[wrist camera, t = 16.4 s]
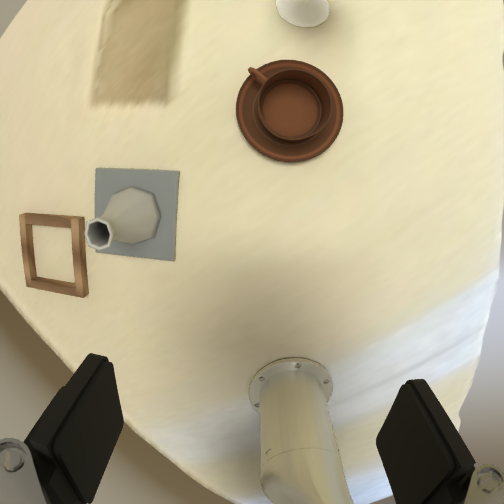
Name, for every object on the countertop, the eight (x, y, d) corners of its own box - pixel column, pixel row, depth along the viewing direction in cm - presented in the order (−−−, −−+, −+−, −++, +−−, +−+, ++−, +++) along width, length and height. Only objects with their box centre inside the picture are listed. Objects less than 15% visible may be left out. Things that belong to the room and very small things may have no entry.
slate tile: (175, 259, 40) (173, 261, 39) (97, 251, 39) (95, 252, 39) (179, 171, 36) (178, 171, 36) (97, 167, 36) (95, 168, 36)
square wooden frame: (88, 293, 41) (83, 297, 40) (32, 282, 41) (26, 286, 39) (84, 217, 38) (78, 219, 37) (25, 212, 38) (19, 215, 36)
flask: (162, 244, 38) (134, 272, 29) (109, 242, 38) (71, 268, 29) (161, 185, 36) (130, 196, 27) (107, 186, 36) (65, 197, 27)
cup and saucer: (220, 137, 35) (214, 133, 30) (261, 49, 32) (262, 31, 26) (315, 178, 37) (326, 182, 31) (353, 91, 34) (370, 80, 28)
